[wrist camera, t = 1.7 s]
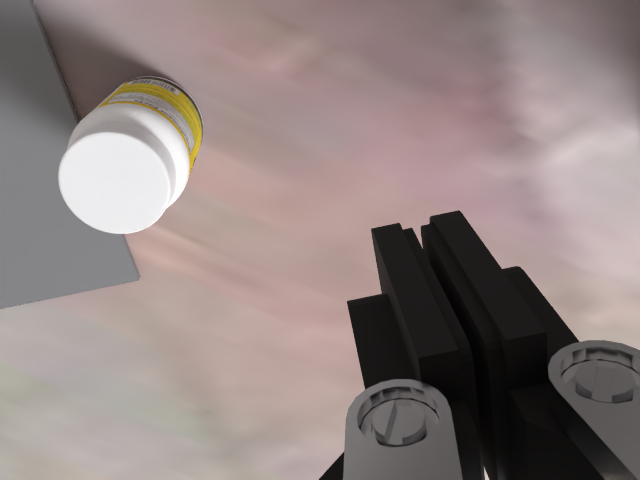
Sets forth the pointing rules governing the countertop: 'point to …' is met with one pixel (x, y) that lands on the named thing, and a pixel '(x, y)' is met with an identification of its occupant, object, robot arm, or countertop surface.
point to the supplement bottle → (131, 155)
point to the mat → (43, 177)
